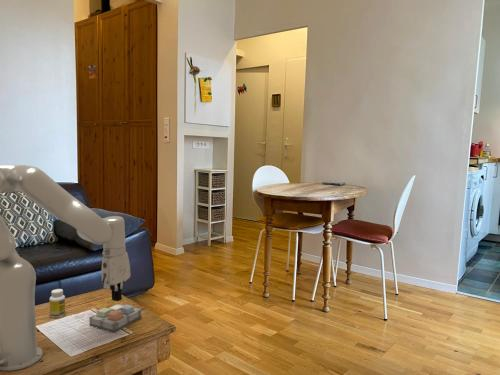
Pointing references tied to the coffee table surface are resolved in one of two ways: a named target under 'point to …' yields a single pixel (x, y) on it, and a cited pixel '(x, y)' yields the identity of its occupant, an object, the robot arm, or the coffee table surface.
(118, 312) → the key terracotta
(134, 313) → the keypad
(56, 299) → the supplement bottle
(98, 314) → the key sage
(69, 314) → the coffee table surface
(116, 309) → the key ivory
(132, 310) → the key slate
